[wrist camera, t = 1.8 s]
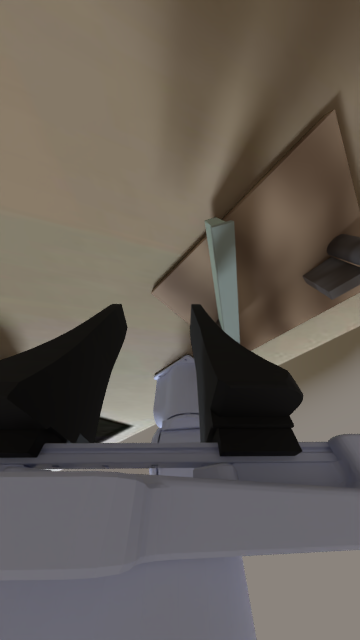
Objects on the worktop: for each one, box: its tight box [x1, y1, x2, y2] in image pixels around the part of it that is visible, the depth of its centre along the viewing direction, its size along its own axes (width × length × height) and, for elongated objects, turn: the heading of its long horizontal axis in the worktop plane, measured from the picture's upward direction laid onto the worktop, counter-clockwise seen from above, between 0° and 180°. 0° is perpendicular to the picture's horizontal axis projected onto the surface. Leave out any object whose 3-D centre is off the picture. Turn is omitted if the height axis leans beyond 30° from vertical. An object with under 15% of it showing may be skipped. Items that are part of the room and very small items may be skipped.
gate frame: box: [151, 109, 360, 351], centre depth 17 cm, size 20×18×6 cm
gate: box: [205, 217, 240, 344], centre depth 16 cm, size 12×1×5 cm, turn 15°
